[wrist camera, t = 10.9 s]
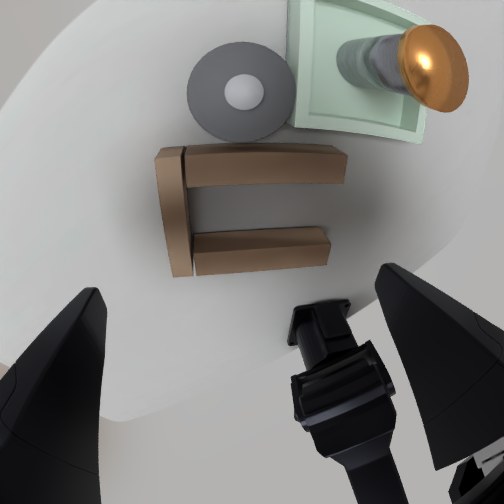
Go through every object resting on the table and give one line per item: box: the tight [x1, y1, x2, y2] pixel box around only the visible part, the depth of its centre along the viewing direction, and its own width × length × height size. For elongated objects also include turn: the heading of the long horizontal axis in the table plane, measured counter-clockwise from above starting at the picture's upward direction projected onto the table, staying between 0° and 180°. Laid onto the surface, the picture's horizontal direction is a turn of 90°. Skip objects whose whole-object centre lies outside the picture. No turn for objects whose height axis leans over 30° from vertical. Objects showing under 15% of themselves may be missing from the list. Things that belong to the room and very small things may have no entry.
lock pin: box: [336, 25, 469, 112], centre depth 10 cm, size 4×4×8 cm
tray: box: [285, 0, 432, 144], centre depth 13 cm, size 10×10×3 cm
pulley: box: [187, 42, 296, 142], centre depth 13 cm, size 6×6×3 cm
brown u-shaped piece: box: [155, 143, 348, 277], centre depth 18 cm, size 9×12×2 cm
